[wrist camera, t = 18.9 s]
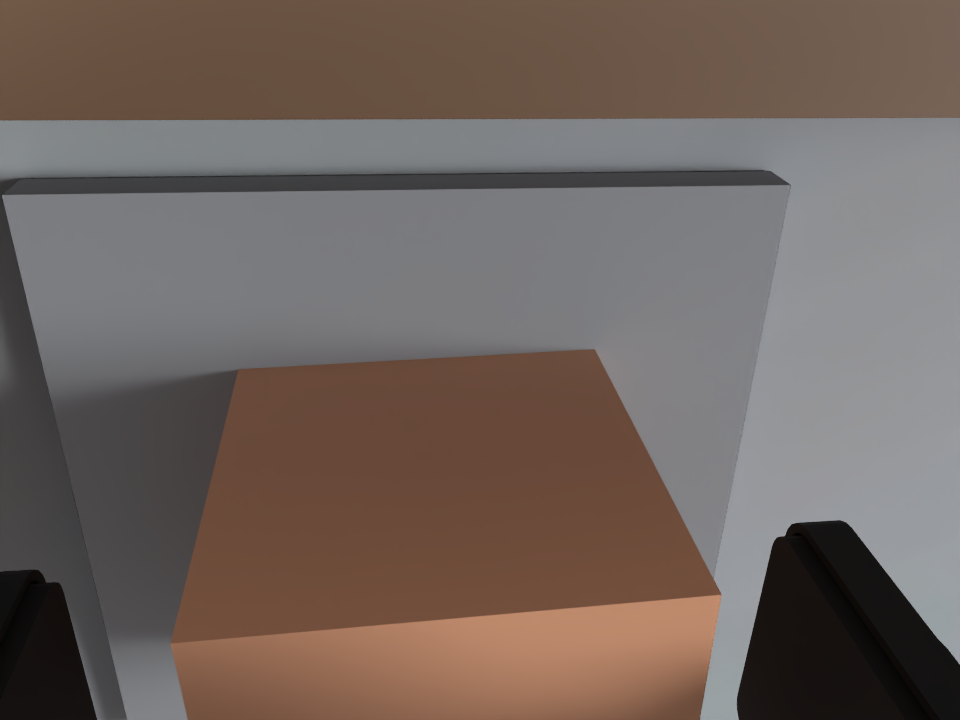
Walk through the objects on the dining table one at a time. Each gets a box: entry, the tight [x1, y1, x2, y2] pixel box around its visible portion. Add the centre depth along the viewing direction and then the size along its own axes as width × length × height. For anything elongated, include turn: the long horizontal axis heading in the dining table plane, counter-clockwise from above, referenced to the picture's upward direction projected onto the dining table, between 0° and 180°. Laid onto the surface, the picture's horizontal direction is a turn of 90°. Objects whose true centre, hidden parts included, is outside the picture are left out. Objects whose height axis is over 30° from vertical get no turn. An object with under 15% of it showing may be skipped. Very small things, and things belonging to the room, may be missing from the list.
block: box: [171, 349, 721, 720], centre depth 10 cm, size 4×4×4 cm
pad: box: [2, 171, 791, 720], centre depth 12 cm, size 9×9×1 cm
